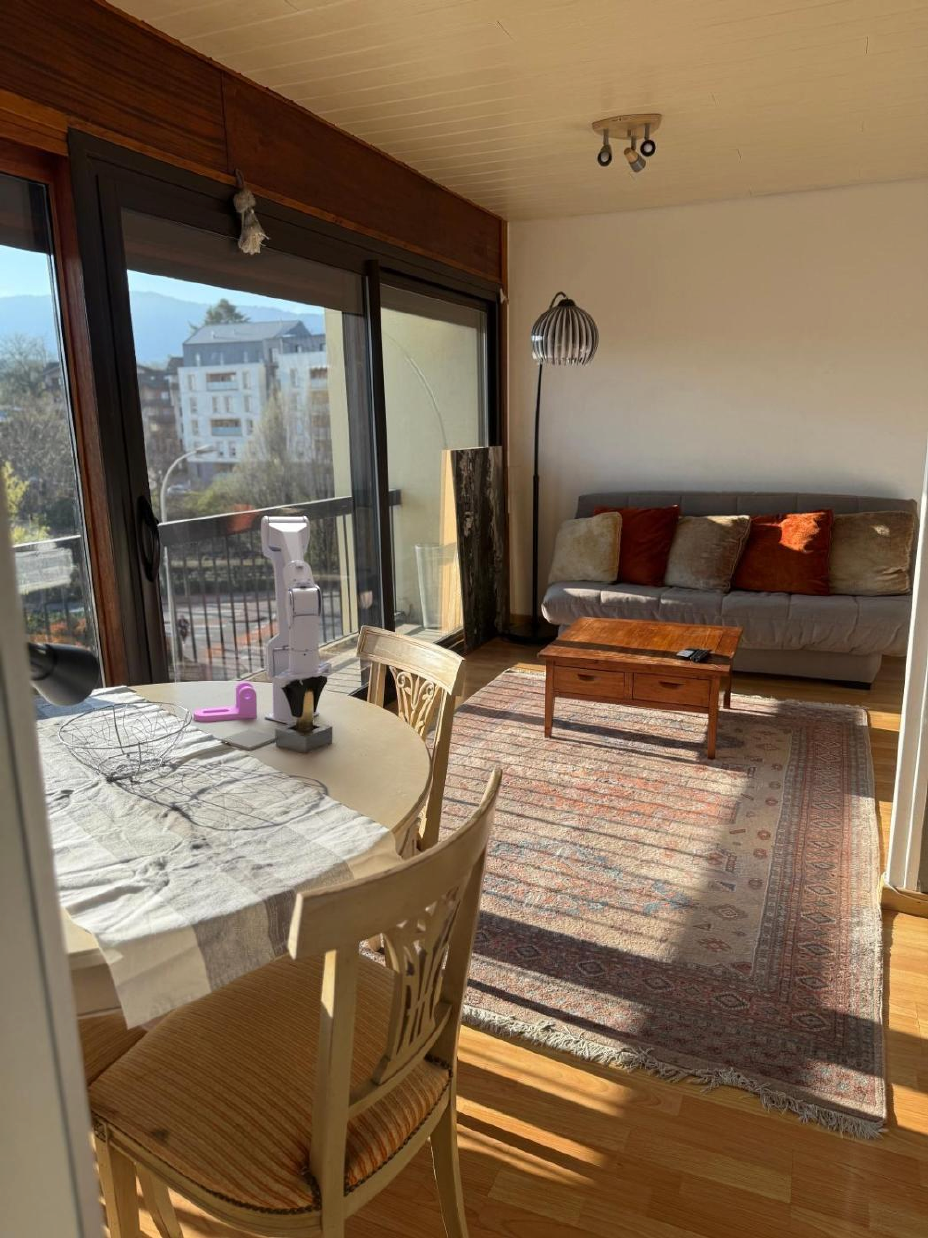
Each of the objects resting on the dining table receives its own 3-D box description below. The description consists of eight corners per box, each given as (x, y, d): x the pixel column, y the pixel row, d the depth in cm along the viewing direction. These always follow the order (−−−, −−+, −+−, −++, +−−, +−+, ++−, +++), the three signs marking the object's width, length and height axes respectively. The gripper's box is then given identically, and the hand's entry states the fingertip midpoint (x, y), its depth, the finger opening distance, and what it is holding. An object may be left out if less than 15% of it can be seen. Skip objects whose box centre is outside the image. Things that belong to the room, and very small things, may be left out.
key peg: (303, 724, 177) (303, 686, 175) (317, 728, 175) (317, 689, 174) (291, 729, 174) (291, 690, 172) (305, 732, 172) (305, 694, 171)
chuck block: (302, 735, 181) (302, 718, 180) (332, 742, 177) (332, 726, 176) (275, 745, 174) (275, 728, 173) (305, 754, 170) (305, 737, 169)
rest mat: (250, 731, 182) (250, 728, 181) (278, 739, 177) (278, 736, 177) (220, 742, 175) (220, 739, 175) (249, 750, 171) (249, 747, 171)
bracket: (253, 710, 196) (252, 680, 195) (256, 718, 191) (256, 687, 190) (192, 715, 191) (192, 684, 190) (195, 723, 186) (194, 691, 185)
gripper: (293, 658, 163) (294, 727, 166) (343, 644, 175) (342, 709, 178) (266, 652, 167) (266, 720, 170) (316, 639, 179) (316, 702, 182)
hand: (304, 714), depth 174 cm, fingers closed on key peg, 4 cm apart
